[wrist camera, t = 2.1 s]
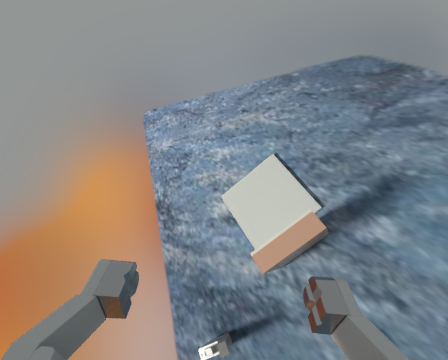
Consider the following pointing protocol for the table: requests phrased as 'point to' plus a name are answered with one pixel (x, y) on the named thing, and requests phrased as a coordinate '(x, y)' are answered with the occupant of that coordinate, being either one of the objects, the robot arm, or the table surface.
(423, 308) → the table surface
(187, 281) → the table surface
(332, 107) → the table surface
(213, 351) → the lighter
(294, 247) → the tile
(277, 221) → the mat
